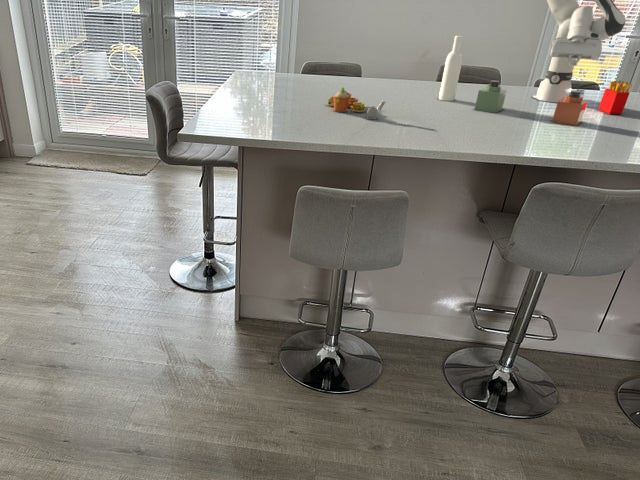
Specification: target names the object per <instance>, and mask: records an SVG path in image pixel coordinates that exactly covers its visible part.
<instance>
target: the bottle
mask: <svg viewBox="0 0 640 480" xmlns="http://www.w3.org/2000/svg"><path fill="white" fill-rule="evenodd" d="M463 38H464V36H463V35H455V36H454V39H453V40H454V41H453V46H452V49H451V50H452V51H450V52H449V53H448V54H447V57H446V59H445V63H444V69H443V74H442V79H441V83H440V84H441V85H440V90H439V93H438V100H439V101H444V102H453V101H454V100H455V98H456V93H457V89H458V83H459V78H460V74H461V69H462V64H463V54H462V53H461V48H462V43H463V40H464V39H463Z"/></svg>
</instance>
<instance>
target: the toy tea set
mask: <svg viewBox="0 0 640 480" xmlns="http://www.w3.org/2000/svg"><path fill="white" fill-rule="evenodd" d="M326 105H327V106H330V107H333V111H334V112H337V113H345V112H347V110H348V109H350V111H352V112H354V113H363V112H365V110H366V109H367V105H365V103H364V102H363V101H360V102H359V99H358V98H357V97H352V93H351V92H348V91H347V90H345V87H341V89H340V90H338V91H337V92H336V94H334V95H333V96H329V97H328V99H327V102H326Z"/></svg>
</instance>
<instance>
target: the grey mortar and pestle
mask: <svg viewBox="0 0 640 480" xmlns="http://www.w3.org/2000/svg"><path fill="white" fill-rule="evenodd" d="M385 104H386V101H385V100H383V99H382V100H381V101H380V103H379V104H378V106H377V107H376V106H375V105H374V106H373V105H371V106H369V107H368V108H367V113H366V120H377V117H378V111H381V110H382V109H383V107H384V105H385Z"/></svg>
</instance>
